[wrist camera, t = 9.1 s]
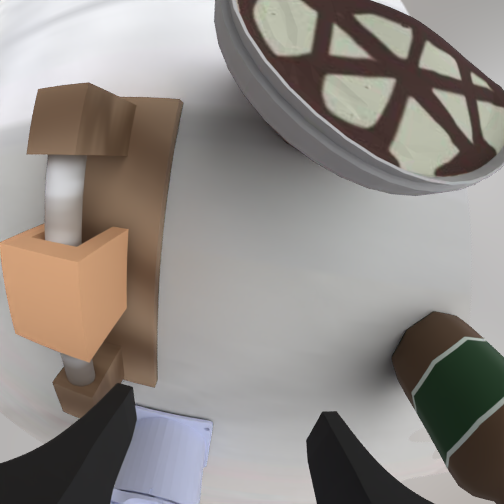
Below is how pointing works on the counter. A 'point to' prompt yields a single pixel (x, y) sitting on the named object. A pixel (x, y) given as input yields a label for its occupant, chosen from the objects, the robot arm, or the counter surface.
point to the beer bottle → (457, 398)
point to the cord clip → (66, 289)
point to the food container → (365, 92)
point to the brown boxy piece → (108, 215)
